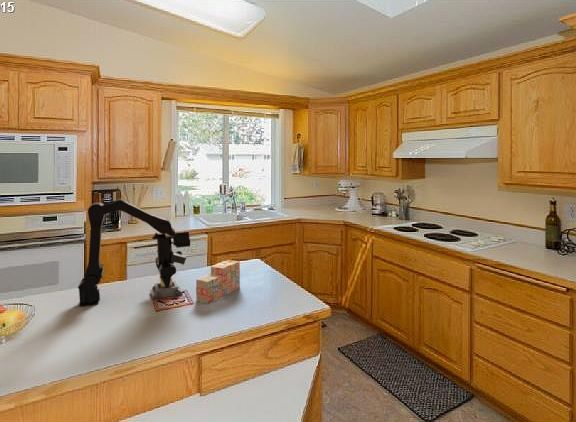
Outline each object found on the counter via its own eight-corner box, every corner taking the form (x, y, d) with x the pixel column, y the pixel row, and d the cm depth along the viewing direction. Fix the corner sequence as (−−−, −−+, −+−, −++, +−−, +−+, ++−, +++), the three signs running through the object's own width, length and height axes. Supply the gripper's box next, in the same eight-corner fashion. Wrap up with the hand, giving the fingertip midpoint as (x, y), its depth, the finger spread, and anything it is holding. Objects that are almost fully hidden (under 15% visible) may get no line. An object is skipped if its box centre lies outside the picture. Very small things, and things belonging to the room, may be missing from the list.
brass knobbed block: (161, 293, 152) (160, 277, 151) (160, 289, 156) (159, 273, 155) (172, 291, 154) (171, 275, 153) (171, 288, 158) (170, 272, 157)
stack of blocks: (208, 304, 145) (207, 274, 143) (196, 301, 148) (195, 271, 146) (240, 287, 163) (239, 261, 162) (228, 285, 166) (228, 259, 165)
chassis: (152, 299, 148) (152, 291, 148) (150, 291, 157) (150, 283, 157) (183, 295, 154) (182, 287, 153) (179, 287, 162) (178, 279, 162)
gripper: (188, 251, 148) (189, 288, 150) (180, 242, 164) (181, 275, 167) (159, 254, 143) (161, 292, 145) (154, 244, 160) (155, 278, 162)
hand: (166, 284), depth 155 cm, fingers open, 9 cm apart
